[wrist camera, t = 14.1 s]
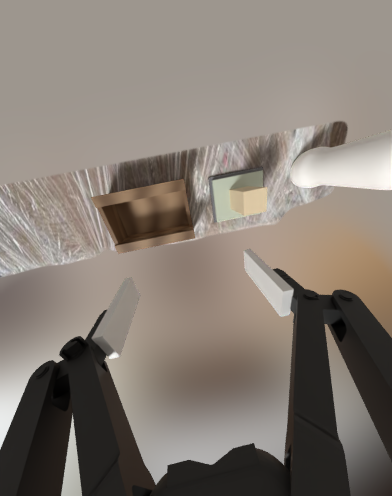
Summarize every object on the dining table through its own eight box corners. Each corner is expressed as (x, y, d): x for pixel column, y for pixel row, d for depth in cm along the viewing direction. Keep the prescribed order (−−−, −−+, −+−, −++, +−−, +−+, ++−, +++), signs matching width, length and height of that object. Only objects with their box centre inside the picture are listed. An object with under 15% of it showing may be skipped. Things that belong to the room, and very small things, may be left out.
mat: (214, 222, 38) (214, 222, 37) (208, 177, 33) (208, 177, 33) (260, 212, 38) (261, 213, 37) (261, 166, 33) (262, 166, 33)
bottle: (326, 166, 34) (872, 101, 7) (299, 194, 37) (635, 225, 9) (309, 141, 32) (1065, -110, 5) (281, 173, 34) (672, 133, 7)
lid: (216, 221, 37) (226, 232, 29) (211, 180, 33) (222, 179, 24) (260, 212, 37) (283, 221, 29) (261, 170, 33) (288, 166, 24)
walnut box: (128, 242, 38) (118, 253, 32) (108, 194, 33) (90, 197, 26) (193, 229, 38) (195, 238, 32) (183, 179, 33) (183, 178, 26)
